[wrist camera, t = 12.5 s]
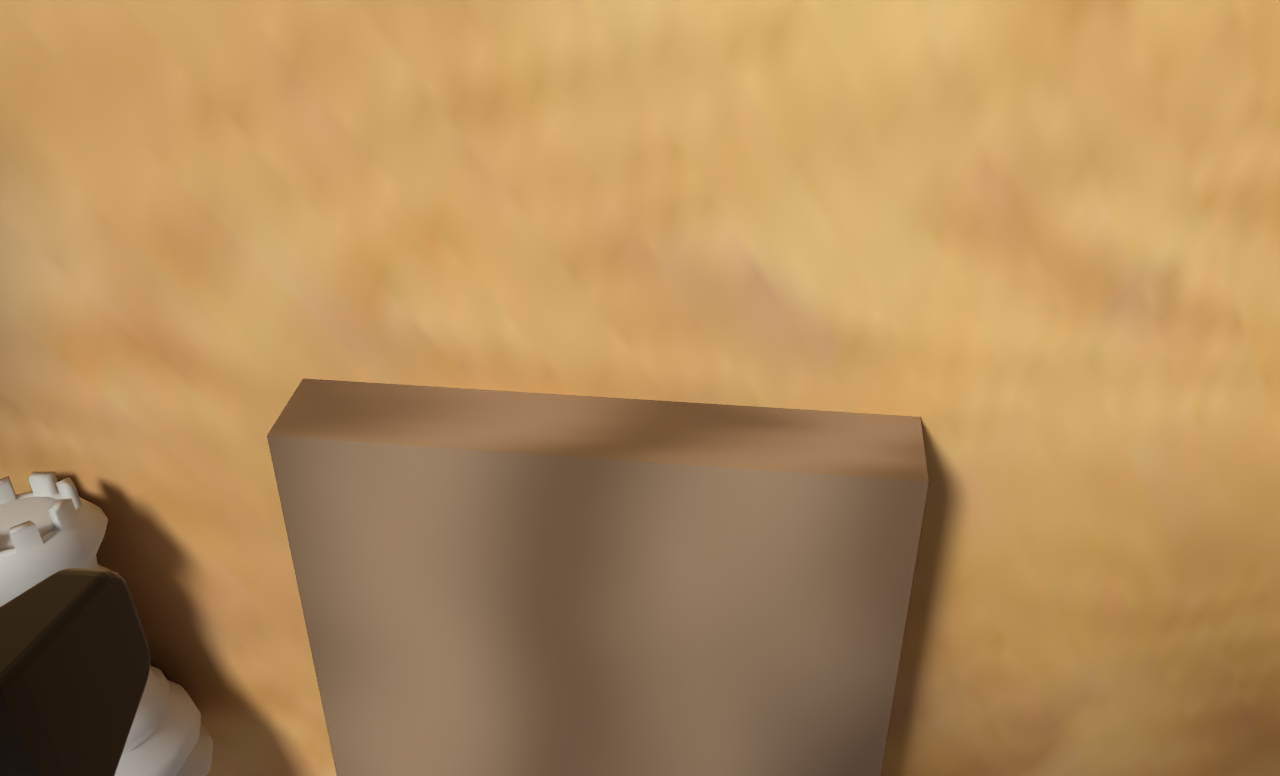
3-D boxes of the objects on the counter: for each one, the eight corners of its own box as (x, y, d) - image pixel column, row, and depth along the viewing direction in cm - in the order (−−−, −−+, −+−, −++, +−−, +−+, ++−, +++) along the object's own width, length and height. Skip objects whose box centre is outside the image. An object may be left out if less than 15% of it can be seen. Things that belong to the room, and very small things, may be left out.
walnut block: (918, 402, 24) (928, 481, 21) (857, 807, 30) (860, 897, 28) (312, 363, 25) (266, 435, 23) (381, 761, 31) (350, 845, 29)
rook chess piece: (257, 742, 30) (170, 459, 26) (132, 891, 26) (10, 587, 22) (110, 709, 31) (7, 437, 27) (-27, 845, 27) (-168, 553, 24)
